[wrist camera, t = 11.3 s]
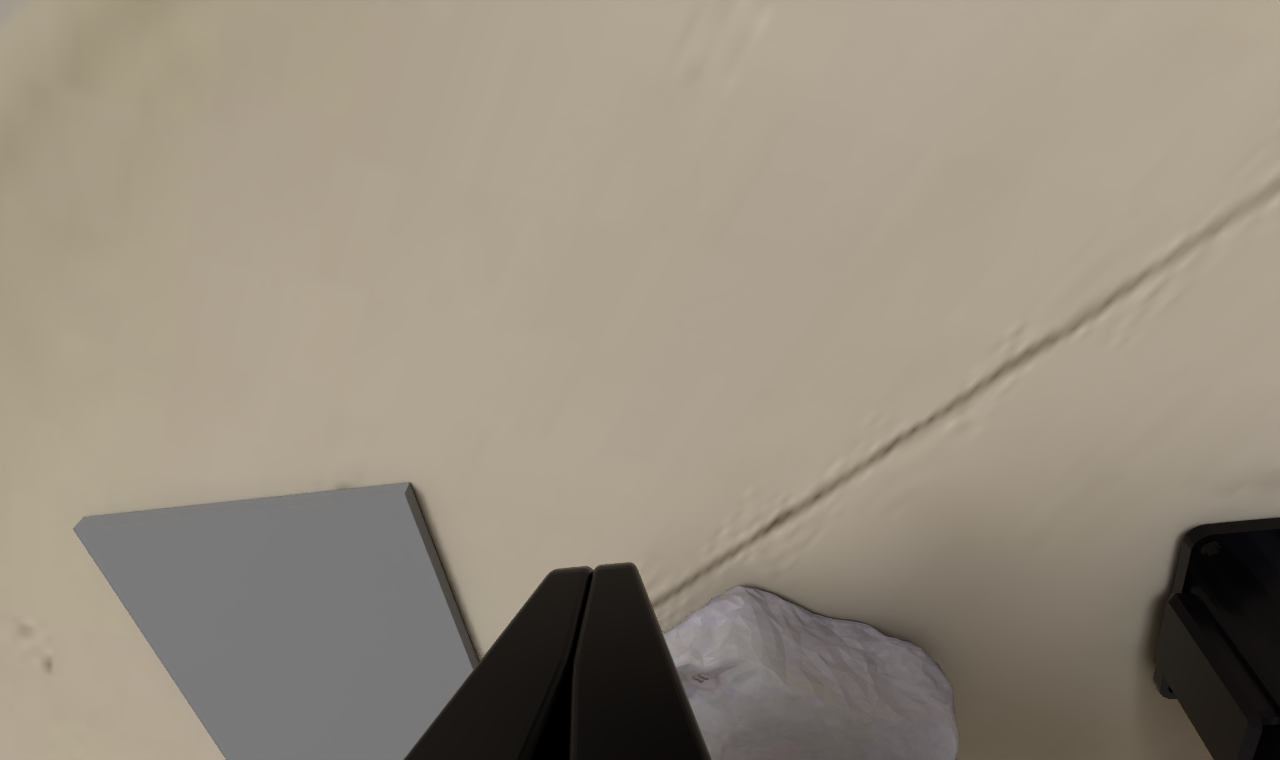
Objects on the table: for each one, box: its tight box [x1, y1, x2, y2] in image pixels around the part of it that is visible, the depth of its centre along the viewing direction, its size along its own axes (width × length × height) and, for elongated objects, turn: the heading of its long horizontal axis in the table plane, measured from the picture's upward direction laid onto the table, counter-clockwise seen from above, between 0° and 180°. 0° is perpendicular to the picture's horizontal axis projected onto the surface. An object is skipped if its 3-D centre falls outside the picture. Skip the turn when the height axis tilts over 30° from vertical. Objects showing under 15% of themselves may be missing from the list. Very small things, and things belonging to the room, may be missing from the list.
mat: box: [73, 482, 479, 760], centre depth 27 cm, size 10×14×1 cm
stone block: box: [663, 586, 960, 760], centre depth 26 cm, size 12×5×10 cm
